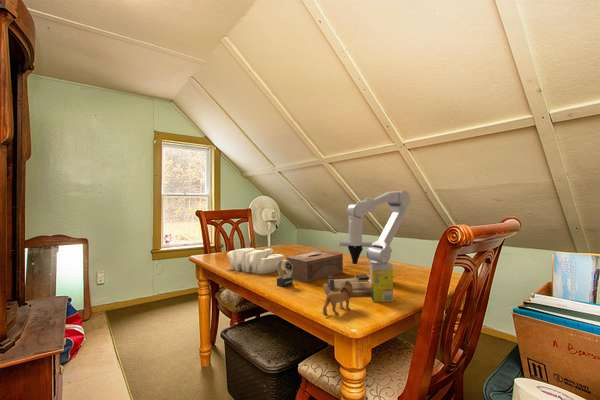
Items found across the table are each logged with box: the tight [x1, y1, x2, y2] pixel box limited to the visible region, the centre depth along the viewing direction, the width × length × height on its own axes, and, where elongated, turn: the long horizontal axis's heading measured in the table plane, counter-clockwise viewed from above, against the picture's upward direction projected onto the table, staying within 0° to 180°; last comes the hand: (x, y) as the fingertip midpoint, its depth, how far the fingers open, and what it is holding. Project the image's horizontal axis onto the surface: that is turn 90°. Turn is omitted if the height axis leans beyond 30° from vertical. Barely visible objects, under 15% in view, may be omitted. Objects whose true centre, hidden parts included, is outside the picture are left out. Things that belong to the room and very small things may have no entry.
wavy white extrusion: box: [226, 247, 285, 275], centre depth 156 cm, size 35×16×11 cm, turn 58°
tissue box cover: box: [285, 250, 344, 284], centre depth 141 cm, size 26×14×10 cm, turn 132°
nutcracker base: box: [322, 276, 372, 297], centre depth 114 cm, size 19×12×6 cm, turn 92°
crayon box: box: [371, 270, 395, 303], centre depth 103 cm, size 7×3×12 cm, turn 91°
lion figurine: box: [322, 280, 353, 317], centre depth 94 cm, size 15×5×9 cm, turn 139°
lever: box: [327, 273, 370, 284], centre depth 114 cm, size 16×5×6 cm, turn 92°
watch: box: [276, 259, 294, 288], centre depth 124 cm, size 6×8×11 cm
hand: (354, 263), depth 120 cm, fingers closed
